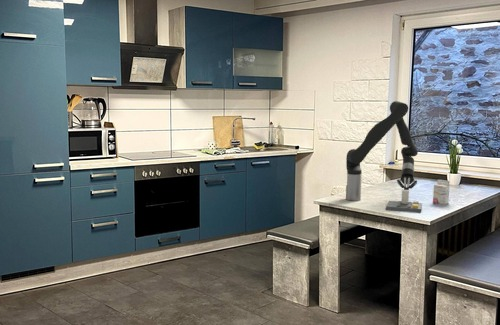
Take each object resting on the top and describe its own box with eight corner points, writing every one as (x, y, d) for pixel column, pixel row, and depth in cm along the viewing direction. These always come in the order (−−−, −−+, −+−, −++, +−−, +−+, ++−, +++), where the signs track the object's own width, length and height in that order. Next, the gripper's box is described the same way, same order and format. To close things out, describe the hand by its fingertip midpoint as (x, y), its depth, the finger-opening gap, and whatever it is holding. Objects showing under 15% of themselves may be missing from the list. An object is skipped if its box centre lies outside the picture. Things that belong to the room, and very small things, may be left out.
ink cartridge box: (432, 202, 324) (433, 180, 322) (435, 201, 328) (437, 179, 326) (445, 204, 318) (446, 181, 316) (448, 203, 322) (450, 180, 320)
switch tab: (401, 203, 310) (401, 190, 309) (401, 202, 314) (402, 189, 313) (408, 203, 309) (408, 191, 308) (408, 202, 313) (409, 189, 312)
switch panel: (386, 209, 303) (386, 204, 302) (388, 203, 320) (388, 198, 319) (421, 212, 296) (421, 206, 296) (421, 206, 313) (422, 200, 312)
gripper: (397, 167, 328) (395, 188, 318) (418, 168, 324) (417, 190, 314) (397, 174, 334) (395, 195, 324) (418, 175, 329) (417, 197, 319)
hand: (406, 192), depth 319 cm, fingers closed
